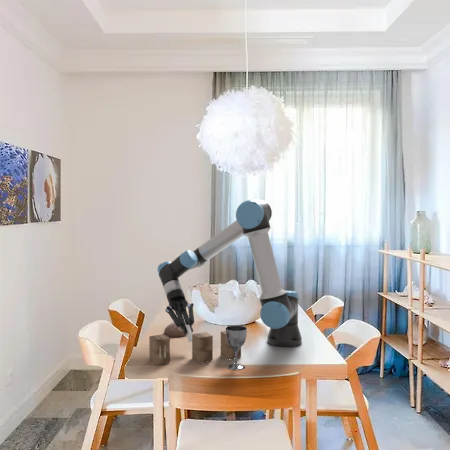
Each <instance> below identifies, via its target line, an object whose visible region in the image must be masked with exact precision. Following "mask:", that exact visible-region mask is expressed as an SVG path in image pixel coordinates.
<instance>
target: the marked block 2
mask: <svg viewBox="0 0 450 450" xmlns="http://www.w3.org/2000/svg"><path fill="white" fill-rule="evenodd" d="M222 356H223V357H224V359H225V358H226V359H225V360H227V359H228V360H227V361H230V360H229V359H232V360H235V359H234V358H235V354H234V351H233V349H232V348H231V347H230V345H229V344H228V342H227V339H226V330H223V331H220V357H222ZM223 357H222V358H223ZM238 357H241V358H242V347H241V348H240V349H239V351H238V355H237V359H239V358H238Z"/></svg>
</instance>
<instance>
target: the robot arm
mask: <svg viewBox="0 0 450 450" xmlns="http://www.w3.org/2000/svg"><path fill="white" fill-rule="evenodd" d="M272 215H273V212H272V207H271V206H270V204H269V203H268V201H267V202H266V201H265V200H262V199H253V198H252V199H248V200H244V201H243V202H241V203H240V204H239V205H238V206H237V209H236V211H235V220H234V222H232V223H230V224H229V225H227V226H226V227H225V228H224V229H223V230H220V231H219V232H218V233H216V235H214V236H212V237H211V238H209V239H208V240H207V241H206V242H204V243H203V244H201V245H200V246H199V247H197V248H196V249H193V251H192V250H190V249H187V250H184V252H181V253H180V254H179V256H177V257H176V258H175V259H174V260H172V261H169V260H167V261H164V262H161V263H160V264H159V265H158V267H157V272H158V277H159V279H160V281H161V285H162V288H163V290H164V294H165V296H166V299H167V303H168V306H166V308H165V312H166V313H167V314H168V315H169V317H170V318H171V320H172V322H173V323H175V325H176V326H177V327H178V328H179V327H181V329H183V332H184V334H186V335H187V336H186V338H187V340H188V343H192V334H193V333H194V329H193V327H192V326H193V325H194V323H195V316H194V305H195V304H194V303H189V301H187V299H186V296H185V293H184V290H183V287H182V285H181V283H180V280H179V278H180V277H181V276H183V275H184V274H185V273H187V272H188V271H191V270H193V269H196V268H200V267H202V266H204V265H205V263H207V262H208V261H209V260H211V259H212V258H213V257H215V256H217V254H220V252H222V251H223V250H225V249H227V247H229V246H230V245H232V244H233V243H235V242H236V241H238V240H239V239H240V238H242V237H244V236H245V237H247V239H248V243H249V247H250V250H251V254H252V258H253V262H254V267H255V271H256V274H257V279H258V284H259V286H260V291H261V294H260V296H259V301H260V305H261V309H260V319H261V321H262V323H263V324H264V326H266V327H268V328H269V331H268V334H267V343H268V344H269V345H272V346H275V347H282V348H283V347H284V348H290V347H291V348H292V346H293V347H297V345H298V346H300V345H302V342H303V341H302V333H301V331H300V328H299V299H300V298H299V294H298V292H297V291H295V290H294V291H293V290H285V289H283V288H282V284H281V279H280V276H279V272H278V266H277V263H276V259H275V256H274V255H275V254H274V251H273V247H272V243H271V239H270V236H269V235H270V234H269V232H270V230H271V225H270V221H271V218H272ZM187 309H188V311H187ZM185 325H186V326H185Z"/></svg>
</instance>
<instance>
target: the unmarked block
mask: <svg viewBox="0 0 450 450" xmlns="http://www.w3.org/2000/svg"><path fill="white" fill-rule="evenodd" d="M213 340H214V339H213V335H212V334H210V333H208V332H206V331H204V332H197V333H192V342H191V348H192V349H191V359H192V360H193V361H195V362H196V361H197V362H196V363H198V364H202V363H201V362H204V363H207V361H209V362H212V361H211V360H214V359H213V357H214V356H213V352H214V351H213V349H214V347H213V344H214V343H213V342H214V341H213Z"/></svg>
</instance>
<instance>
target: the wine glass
mask: <svg viewBox="0 0 450 450" xmlns="http://www.w3.org/2000/svg"><path fill="white" fill-rule="evenodd" d="M225 331H226V339H227V342H228V344H229V345H230V347H231V348H232V349H233V351H234V354H235V359H234V363H235V364H234V363H229V364H230V365H229V364H227V365H226V368H227V370H230V371H231V370H232V371H242V370H244V369H246V365H244V364H243V365H241V364H242V363H238V358H237V355H238V351H239V349H240V348H241V349H242V347H243V346H244V345H245V343H246V340H247V332H248V331H247V326H244V325H239V324H234V325H232V324H231V325H227V326H225Z"/></svg>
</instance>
